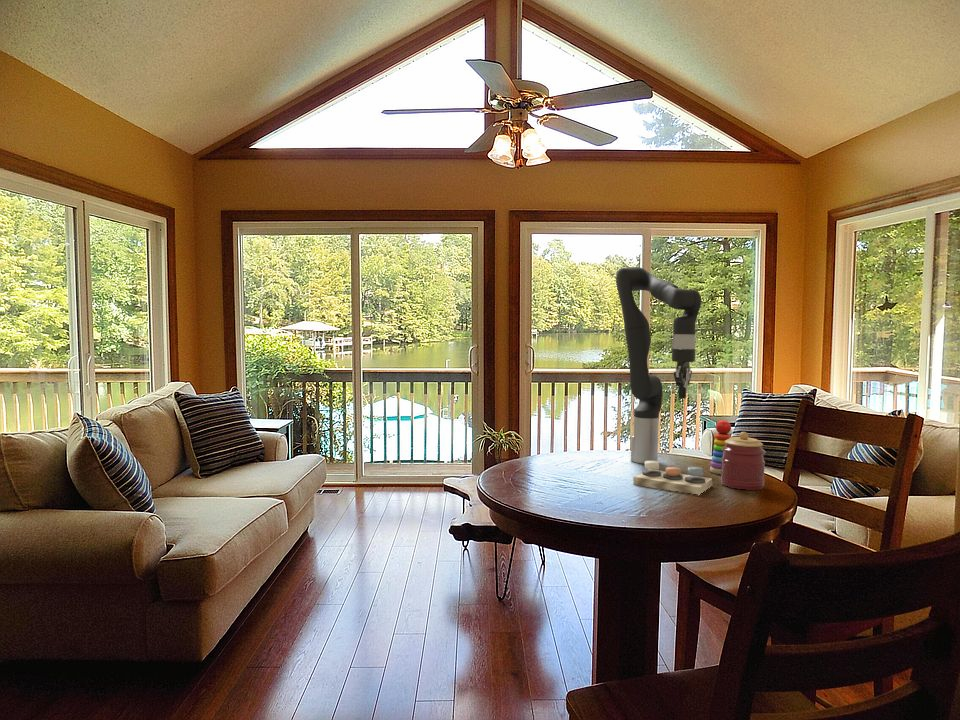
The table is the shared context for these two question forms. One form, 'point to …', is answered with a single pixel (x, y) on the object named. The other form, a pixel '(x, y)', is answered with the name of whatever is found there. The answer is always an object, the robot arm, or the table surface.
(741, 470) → the canister
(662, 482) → the button panel
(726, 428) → the stacking toy
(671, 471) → the terracotta button
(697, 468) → the slate button
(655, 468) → the ivory button
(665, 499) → the table surface
